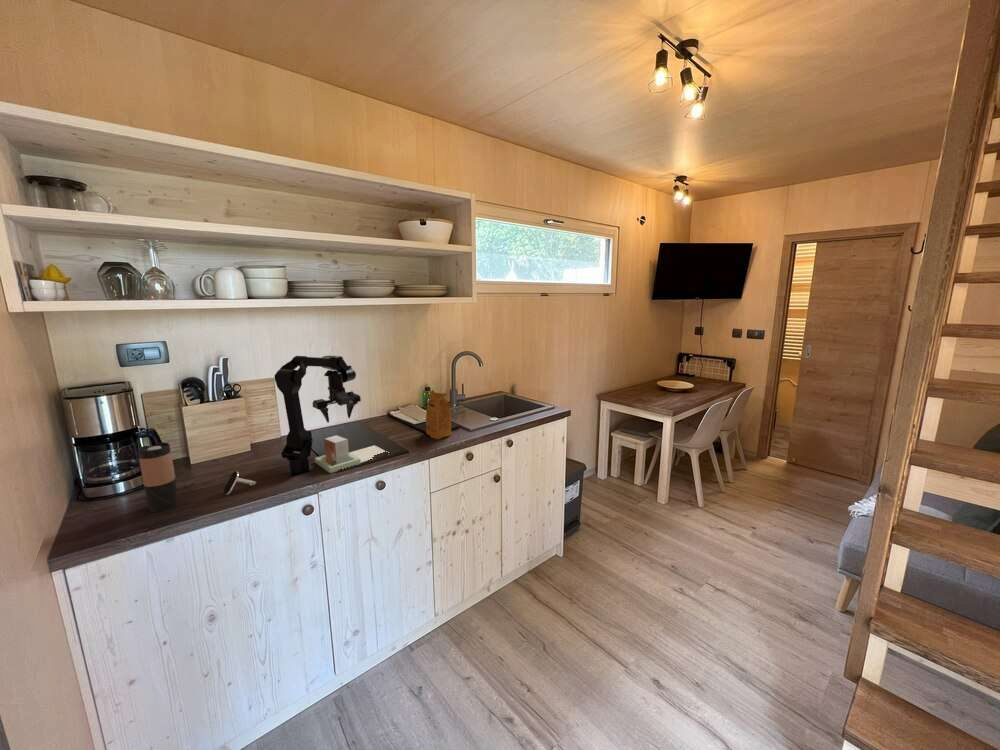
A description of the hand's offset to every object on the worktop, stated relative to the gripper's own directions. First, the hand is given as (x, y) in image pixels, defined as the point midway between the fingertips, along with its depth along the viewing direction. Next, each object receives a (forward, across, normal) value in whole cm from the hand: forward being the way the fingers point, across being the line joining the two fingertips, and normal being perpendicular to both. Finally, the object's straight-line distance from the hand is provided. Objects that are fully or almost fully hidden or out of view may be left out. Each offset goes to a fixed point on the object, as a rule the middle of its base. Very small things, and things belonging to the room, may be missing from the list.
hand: (338, 420), depth 172 cm
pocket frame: (+13, -8, -15) cm, 21 cm away
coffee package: (+13, +40, -17) cm, 46 cm away
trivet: (+13, +5, -15) cm, 20 cm away
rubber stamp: (+15, -43, -13) cm, 47 cm away
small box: (+13, -8, -15) cm, 21 cm away
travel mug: (+13, -61, -8) cm, 63 cm away
